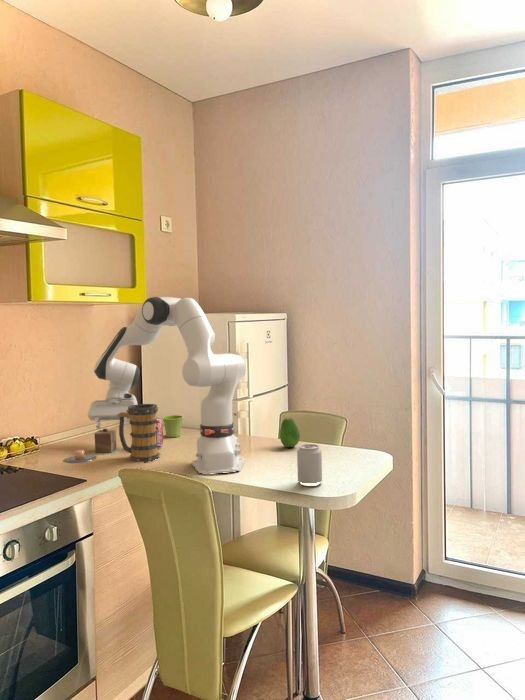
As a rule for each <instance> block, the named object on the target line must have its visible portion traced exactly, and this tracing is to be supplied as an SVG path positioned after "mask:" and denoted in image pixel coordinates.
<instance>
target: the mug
mask: <svg viewBox="0 0 525 700" xmlns="http://www.w3.org/2000/svg"><path fill="white" fill-rule="evenodd" d="M158 411H159V407H158V405H157V404H156V403H155V404H154V403H138V405H132V406H129V407H128V409H127V411H126V412H120V413H119V414H117V416H118V417H120V420H119V423H120V426H119V425H118V430H119V431H118V432H119V435H118V436H119V441H120V443H121V446H122V449H123V450H124V451H125V452H127V453H130V455H129V457H128V458H127V459H128V460H130V461H133V462H144V463H149V462H148V461H151V462H154V461H153V460H155V459H158V458H159V459H160V458H161V453H160V452H159V451H158V450H159V449H157V447H158V445H157V444H158V443H157V442H156V434H157V433H158V432H156V421H157V419H156V418H157V413H158ZM124 417H127V418H130V420H129V425H131V432H130V433H129V435H130V436H131V446H130V447H129V446H128V444H127V441H126V438H125V433H124V431H125V430H124V426H125V425H124ZM159 459H158V460H159ZM155 461H156V460H155Z"/></svg>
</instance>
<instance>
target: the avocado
mask: <svg viewBox="0 0 525 700" xmlns="http://www.w3.org/2000/svg"><path fill="white" fill-rule="evenodd" d="M281 422H282V423H281V424H280V425H281V426H280V430H279V438H280V442H281V443H282V445H283V446H284V447H285V446H286V447H285V448H287V447H291V448H294V447H295V446H297V444H298V443H299V441H300V438H301V435H300V434H301V433H300V430H299V428H298V426H297V423H295V422H296V421H294V419H293V418H292V417H285V418H284V419H283V420H282V421H281ZM293 446H294V447H293Z"/></svg>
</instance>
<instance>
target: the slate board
mask: <svg viewBox="0 0 525 700" xmlns="http://www.w3.org/2000/svg"><path fill="white" fill-rule="evenodd" d="M84 455H85V459H83V460H75V455H72V456H70V457H66V458H64V459H63V463H65V464H82V463H88V462H92V461H94V460H96V459H97V455H89V454H84Z"/></svg>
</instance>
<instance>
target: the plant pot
mask: <svg viewBox="0 0 525 700" xmlns="http://www.w3.org/2000/svg"><path fill="white" fill-rule="evenodd" d="M183 419H184V415H178V414H173V415H172V414H171V415H166V416H162V421H163V423H164V430H165V436H166V438H170V437H171V438H178V437H181V434H182V423H183Z"/></svg>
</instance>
